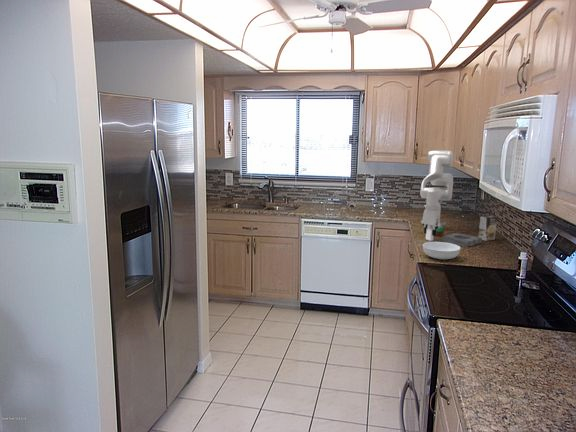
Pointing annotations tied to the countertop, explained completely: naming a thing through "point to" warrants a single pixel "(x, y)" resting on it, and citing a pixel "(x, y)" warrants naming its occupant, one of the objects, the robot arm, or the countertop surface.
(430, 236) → the eye dropper bottle
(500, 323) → the countertop surface
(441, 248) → the serving bowl
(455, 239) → the holder block
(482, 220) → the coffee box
